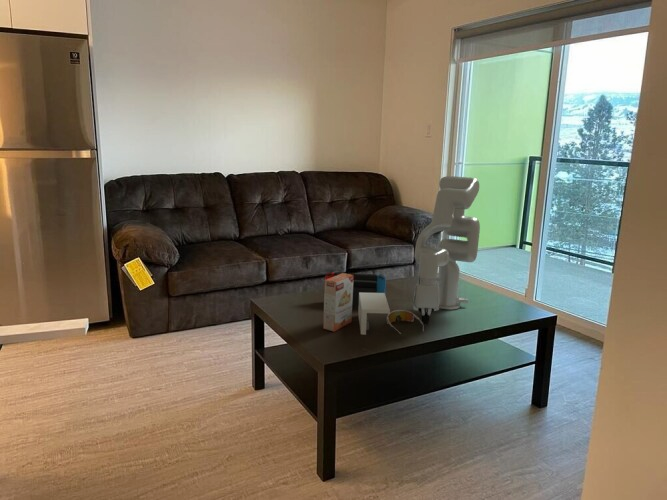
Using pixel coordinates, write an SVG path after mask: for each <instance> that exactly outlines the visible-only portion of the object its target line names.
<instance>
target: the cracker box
mask: <svg viewBox="0 0 667 500" xmlns="http://www.w3.org/2000/svg"><path fill="white" fill-rule="evenodd" d="M341 273H342V274H339V275H337V276H334V277H332V278H329V279H327V280H325V279H324V292H323V293H324V297H323V325H322V326H323V328H322V329H323V330H326V331H331V332H336V331H338V330H340V329H342V328H344V327H345V326H347V325H350V324H351V323H352V320H353V319H352V317H353V306H352V300H353V279H354V275H350V274H345V273H346V272H341Z"/></svg>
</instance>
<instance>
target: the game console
mask: <svg viewBox="0 0 667 500" xmlns="http://www.w3.org/2000/svg"><path fill="white" fill-rule="evenodd" d="M342 273H343V272H333V271H329V272H327V273H326V274H325V276H324V277H325V279H324V281H325V280H327V279H329V278H332V277H334V276H337V275H339V274H342ZM344 273H345V274H350V275H354V279H353V300H352V307H358V308H359V293H385V294H386V287H387V286H386V283H387V282H386V281H387V277H386V276H385V275H384V274H376V273H375V274H374V273H352V272H350V273H349V272H344Z"/></svg>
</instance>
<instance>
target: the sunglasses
mask: <svg viewBox="0 0 667 500" xmlns="http://www.w3.org/2000/svg"><path fill="white" fill-rule="evenodd" d="M398 318H399V320H400V321H401V322H404V321H405V322H410V323H411V322H412V323H413V322H414V320H415V318H416V320H418V321H419V322H420V323H421V325H422V332H424V328H425V327H424V324H423V322H422V321H421V318H419V316H417V314H415V313H414V312H412V311H409V310H405V309H395V310H392V311H390V314H388V313H387V315H386V324H387V325H388V324H389V325H390V327H391V328H392V329H393V330H394V331H395V332H397V333H398V334H399V335H402V332H400V331H399V330H398V329H397V328H396V327H395V326H394V325H392V323H393V322H396V321H397V320H398Z"/></svg>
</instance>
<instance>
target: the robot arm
mask: <svg viewBox="0 0 667 500" xmlns="http://www.w3.org/2000/svg"><path fill="white" fill-rule="evenodd" d="M438 183H439V184H438V185H439V190H438V191H437V194H436V198H435V199H436V200H435V203H434V209H433V214H432V218H431V222H430V223H429V224H428V225H426V226H425V228H423V229H422V231H421V232H420V234H418V237H417V240H416V242H415V243H416V244H415V248H414V260H415V261H416V262H417V263H418V264H419V265H418V281H417V282H416V283H415V287H414V292H413V293H414V294H413V299H412V300H413V301H412V303H413V306H412V309H413V310H414V311H418V312H419V314H421V318H420V320H421V321H422V323H423V325H428V323H429V322H430V316H431V314H432V313H433V312H436V311H439V310H440V309H442V310H457V309H460V308H461V304H468V303H469V299H468V298H464V297H460V296H459V285H460V284H459V282H460V273H461V272H460V266H459V264H458V263H457V262H461V263H462V262H463V263H473V262H475V261H476V259H477V256H478V250H479V241H480V231H481V224H480V221H479V219H478V218H476V217H474V216H465V211H466V210H469V209H470V207H471V206H472V204H473V202H474V201H475V199H476V197H477V196H478V194H479V191H480V181H479V180H478V179H477V178H475V177H467V176H451V175H450V176H449V175H448V176H443V177H442V178H440V180H439V182H438ZM441 231H443V232H444V234H445V235H447V236H451V237H456V238H466V240H461V239H454V238H444V239H441V240H440V241H439V243H438V244H437V245H438V246H437V247H435V246H427V245H426V241H427V240H428V238H429V237H431V236H432V235H434V234H436V233H438V232H441ZM425 309H426V312H425Z"/></svg>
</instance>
